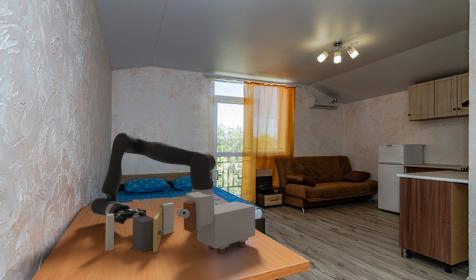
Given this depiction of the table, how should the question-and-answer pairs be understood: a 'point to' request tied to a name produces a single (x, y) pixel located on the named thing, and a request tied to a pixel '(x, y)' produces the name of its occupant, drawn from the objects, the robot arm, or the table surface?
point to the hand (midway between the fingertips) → (134, 218)
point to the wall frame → (166, 224)
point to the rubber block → (143, 233)
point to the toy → (218, 221)
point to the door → (157, 229)
